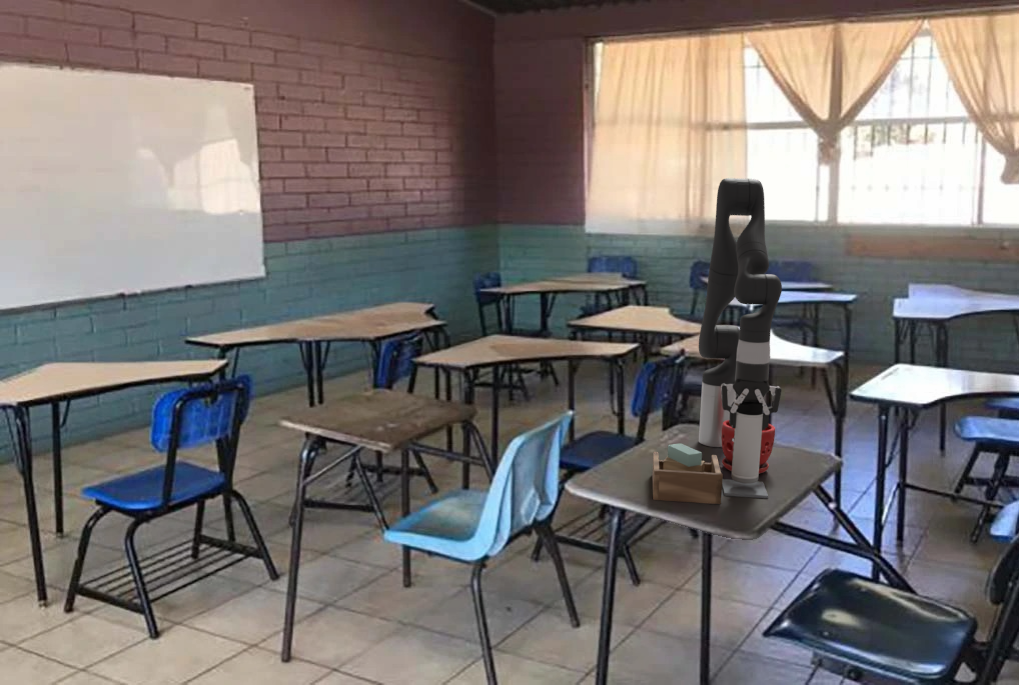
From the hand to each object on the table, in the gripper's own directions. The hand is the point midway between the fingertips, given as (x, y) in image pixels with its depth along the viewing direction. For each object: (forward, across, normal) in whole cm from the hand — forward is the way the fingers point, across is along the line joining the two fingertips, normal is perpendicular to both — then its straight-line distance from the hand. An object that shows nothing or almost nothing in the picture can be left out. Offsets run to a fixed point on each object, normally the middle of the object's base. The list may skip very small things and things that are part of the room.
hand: (748, 428), depth 228 cm
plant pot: (+16, -2, -16) cm, 22 cm away
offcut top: (+10, +14, -3) cm, 18 cm away
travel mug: (+13, 0, 0) cm, 13 cm away
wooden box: (+15, +14, +2) cm, 21 cm away
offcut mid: (+13, +14, -3) cm, 19 cm away
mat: (+15, 0, 0) cm, 15 cm away
